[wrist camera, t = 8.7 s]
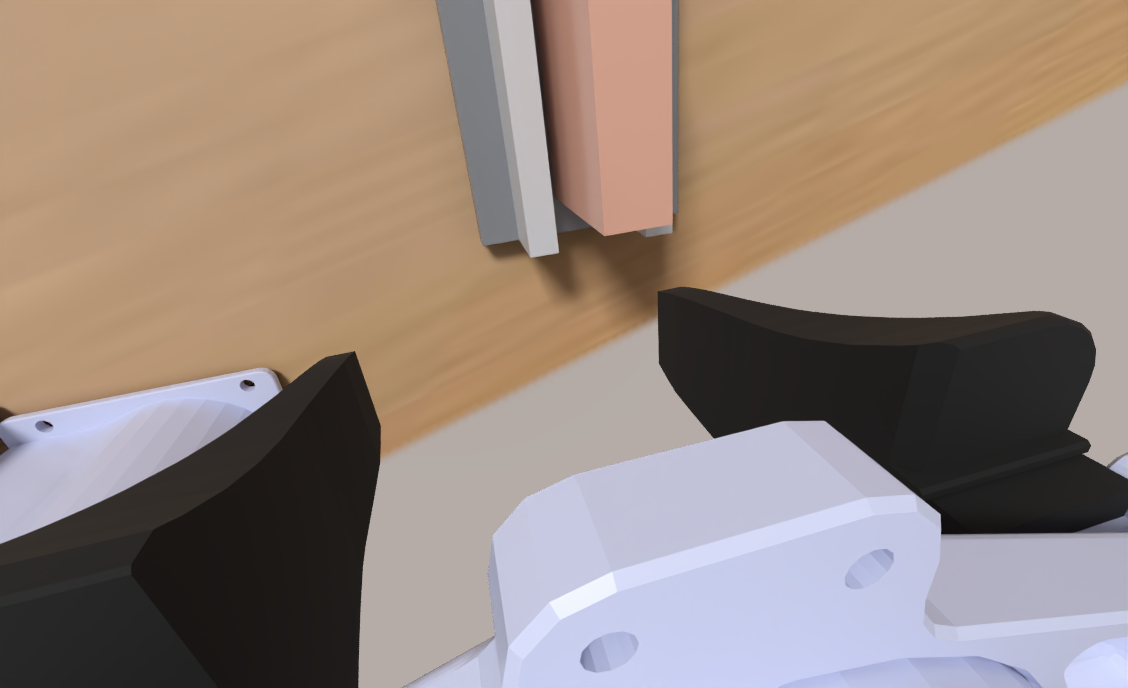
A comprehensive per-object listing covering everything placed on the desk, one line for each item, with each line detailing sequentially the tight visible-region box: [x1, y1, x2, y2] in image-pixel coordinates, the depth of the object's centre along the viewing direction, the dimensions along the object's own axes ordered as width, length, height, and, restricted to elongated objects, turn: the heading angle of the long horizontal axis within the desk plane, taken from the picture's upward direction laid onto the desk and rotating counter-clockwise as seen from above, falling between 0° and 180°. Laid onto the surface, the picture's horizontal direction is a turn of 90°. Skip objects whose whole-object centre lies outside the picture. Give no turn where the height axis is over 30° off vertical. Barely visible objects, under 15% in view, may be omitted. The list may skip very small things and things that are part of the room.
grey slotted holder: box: [436, 0, 678, 258], centre depth 16 cm, size 8×11×4 cm
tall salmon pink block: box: [533, 0, 673, 236], centre depth 14 cm, size 2×8×6 cm, turn 6°
